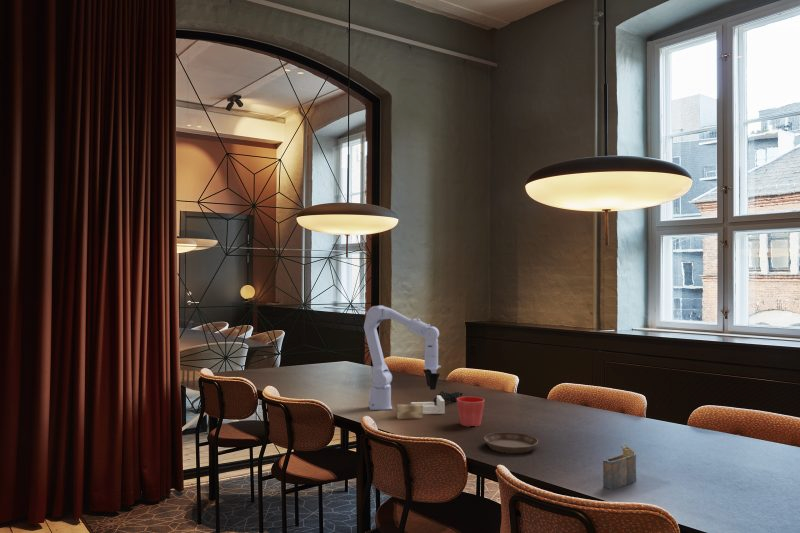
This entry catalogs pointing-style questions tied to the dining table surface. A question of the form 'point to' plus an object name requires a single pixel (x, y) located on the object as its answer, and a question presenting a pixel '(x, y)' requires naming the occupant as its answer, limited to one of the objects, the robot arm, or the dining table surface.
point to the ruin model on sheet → (619, 469)
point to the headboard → (433, 406)
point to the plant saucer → (510, 442)
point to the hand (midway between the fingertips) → (431, 387)
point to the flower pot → (470, 410)
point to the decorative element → (448, 396)
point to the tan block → (409, 411)
